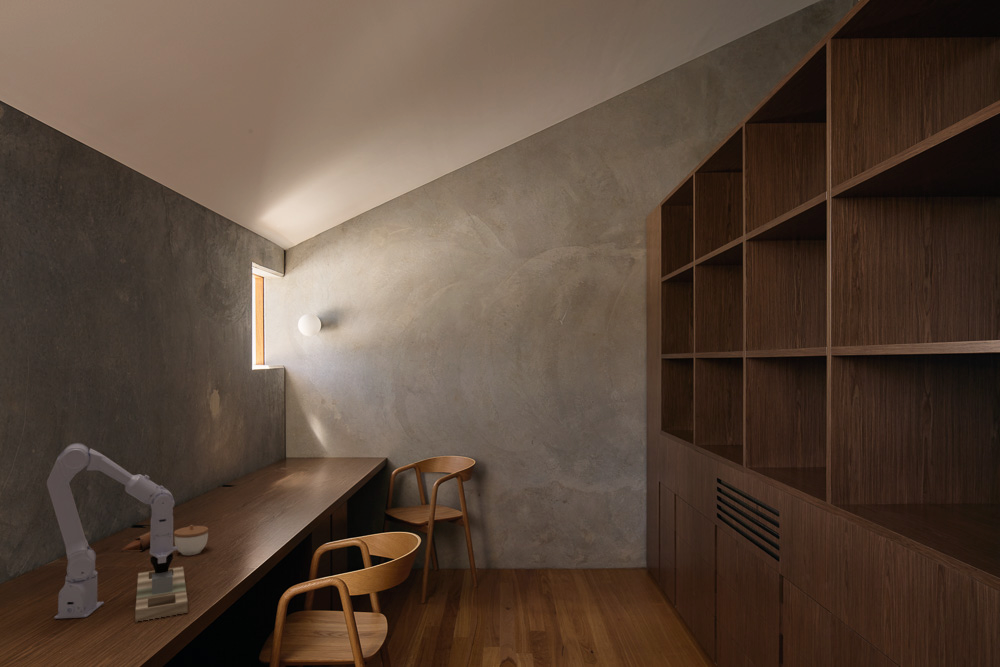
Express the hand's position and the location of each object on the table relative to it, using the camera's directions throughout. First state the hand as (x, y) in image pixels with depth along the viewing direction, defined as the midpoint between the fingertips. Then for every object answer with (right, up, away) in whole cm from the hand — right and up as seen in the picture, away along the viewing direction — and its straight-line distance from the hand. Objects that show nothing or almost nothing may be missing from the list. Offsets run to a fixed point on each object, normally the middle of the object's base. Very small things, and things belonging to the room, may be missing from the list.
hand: (161, 581), depth 183 cm
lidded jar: (-10, -5, +39) cm, 41 cm away
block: (+2, -1, -3) cm, 4 cm away
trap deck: (0, -4, -1) cm, 4 cm away
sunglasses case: (-32, -6, +49) cm, 59 cm away
